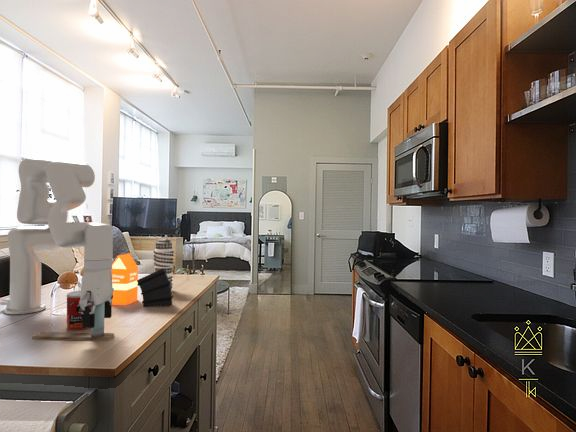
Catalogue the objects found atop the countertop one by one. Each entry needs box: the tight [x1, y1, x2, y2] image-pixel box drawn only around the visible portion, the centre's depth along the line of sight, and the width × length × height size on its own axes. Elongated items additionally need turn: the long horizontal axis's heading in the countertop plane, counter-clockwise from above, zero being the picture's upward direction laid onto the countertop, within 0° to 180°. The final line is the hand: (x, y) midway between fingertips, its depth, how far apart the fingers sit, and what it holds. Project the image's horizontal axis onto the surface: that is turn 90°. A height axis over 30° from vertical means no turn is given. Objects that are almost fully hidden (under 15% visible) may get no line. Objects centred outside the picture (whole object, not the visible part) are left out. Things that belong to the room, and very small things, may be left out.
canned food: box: [66, 290, 91, 331], centre depth 117 cm, size 8×8×11 cm
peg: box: [90, 302, 105, 337], centre depth 107 cm, size 4×4×10 cm
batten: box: [32, 331, 115, 341], centre depth 107 cm, size 22×4×1 cm, turn 90°
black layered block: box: [137, 268, 174, 308], centre depth 145 cm, size 4×13×15 cm, turn 100°
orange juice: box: [111, 253, 139, 306], centre depth 150 cm, size 8×9×20 cm
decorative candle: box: [153, 238, 175, 293], centre depth 172 cm, size 9×9×25 cm
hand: (97, 322), depth 107 cm, fingers open, 9 cm apart
